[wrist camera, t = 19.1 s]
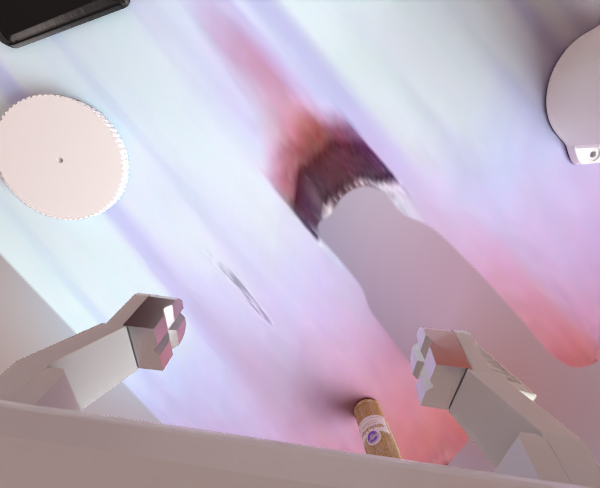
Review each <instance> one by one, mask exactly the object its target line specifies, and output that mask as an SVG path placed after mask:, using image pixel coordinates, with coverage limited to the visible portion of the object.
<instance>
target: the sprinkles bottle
mask: <svg viewBox="0 0 600 488" xmlns="http://www.w3.org/2000/svg"><path fill="white" fill-rule="evenodd" d="M354 415H355V417H356V419H357V423H358V426H359V431H360V434H361V437H362V441H363V444H364V447H365V451H366V454H371V455H378V456H385V457H391V458H398V459H402V458H401V456H400V453H399V449H398V447H397V445H396V442H395V440H394V437H393V435H392V433H391V430H390V428H389V426H388V423H387V421H386V420H385V418H384V415H383V413H382V411H381V406H380V404H379V403H378V402H377V401H376V400H373V399H364V400H361V401H360V402H358V403H357V404H356V406H355V408H354Z"/></svg>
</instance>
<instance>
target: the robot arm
mask: <svg viewBox="0 0 600 488" xmlns="http://www.w3.org/2000/svg"><path fill="white" fill-rule="evenodd" d="M546 107H547V114H548V118H549V121H550V124H551V126H552V128H553V130H554V131H555V133H556V134H557V135H558V136H559V137H560V138H561V139H562V141H563V142H564V143H565V144H566V146H567V150H568V154H569V157H570V159H571V161H572V163H573V164H575V165H583V164H592V163H599V162H600V25H598V26H597V27H595V28H594V29H592V30H590V31H589V32H587V33H585V34H583V35H582V36H580V37H579V38H578V39H577V40H575V41H574V42H573V43H572V44H571V45H570V46H569V47H568V48H567V49H566V50H565V52H564V53H563V54H562V56H561V57H560V59H559V60H558V62H557V64H556V66H555V68H554V70H553V72H552V74H551V77H550V80H549V84H548V89H547V97H546ZM590 153H591V155H590ZM182 309H183V304H182V300H181V299H179V298H173V297H166V296H159V295H150V294H143V293H137V294H135V295H134V296H133V297H132V298H131V299H130V300H129V301H128V302H127V303H126V304H125V305H124V306H123V307H122V308H121V309H120V310H119V311H118V312H117V313H116V314H115V315H114V316H113V317H112V318H111V319H110V320H109V321H108V322H107V323H106V324H104V323H101V324H99V325H97V326H94V327H92V328H90V329H88V330H85V331H83V332H81V333H79V334H76V335H74V336H72V337H70V338H67V339H65V340H63V341H61V342H58V343H56V344H54V345H52V346H49V347H47V348H45V349H43V350H40V351H38V352H36V353H34V354H31V355H29V356H27V357H25V358H22V359H20V360H18V361H16V362H15V363H14V364H13V365H11V366H10V367H9V368H8V369H7V370H6V371H4V372H3V373H2V374H1V375H0V488H600V466H599V464H598V463H597V461H596V460H595V458H594V457H593V455H592V454H591V452H590V451H589V449H588V448H587V446H586V445H585V443H584V442H583V441H582V439H580V438H579V437H578V436H576V435H575V434H574V433H573V432H572V431H570V430H569V429H568V428H567V427H565V426H564V425H562V424H561V423H560V422H559V421H557V420H556V419H555V418H554V417H552V416H551V415H550V414H549V413H547V412H546V411H545V410H543V409H542V408H541V407H540V406H538V405H537V404H536V403H534V402H533V401H532V400H531V399H529V398H528V397H527V396H526V395H524V394H523V393H522V392H520V391H519V390H518V389H517V388H515V387H514V386H513V385H511V384H510V383H509V382H508V381H506V380H505V379H504V378H502V377H501V376H500V375H499V374H497V373H494V372H491V370H490V369H489V367H488V365H487V363H486V361H485V359H484V357H483V356H482V354H481V352H480V350H479V348H478V346H477V345H476V343H475V341H474V339H473V337H472V335H471V334H470V333H469V332H467V331H459V330H446V329H437V328H428V327H420V328H419V329H418V331H417V334H416V337H417V340H418V342H417V343H416V344H414V345H413V347H412V350H411V357H410V364H411V370H412V374H413V375H414V376H415V377H416V378H417V379H418V381H417V384H416V390H417V394H418V397H419V401H420V405H421V406H428V407H434V408H440V409H446V410H449V412H450V414H451V415H452V416H453V417H454V418H455V420H456V421H457V422H458V423H459V425H460V426H461V427H462V428H463V429H464V431H465V432H466V433H467V434H468V435H469V437H470V438H471V439H472V440H473V441H474V443H475V444H476V445H477V446H478V448H479V449H480V450H481V451H482V452H483V454H484V455H485V456H486V457H487V458H488V460H489V461H490V462H491V463H492V464H493V466H494V467H495V468H496V470H495V472H494V473H493V472H486V471H479V470H473V469H465V468H459V467H452V466H446V465H439V464H432V463H425V462H419V461H412V460H405V459H398V458H391V457H385V456H378V455H371V454H364V453H357V452H350V451H344V450H337V449H330V448H323V447H316V446H309V445H303V444H296V443H289V442H283V441H276V440H269V439H262V438H256V437H249V436H242V435H235V434H229V433H222V432H215V431H209V430H202V429H195V428H188V427H181V426H175V425H168V424H161V423H154V422H148V421H141V420H134V419H127V418H121V417H114V416H107V415H100V414H93V413H86V412H83V411H82V409H84V408H85V407H86V406H88V405H89V404H90V403H92V402H93V401H95V400H96V399H98V398H99V397H100V396H101V395H103V394H104V393H106V392H107V391H109V390H110V389H111V388H113V387H114V386H116V385H117V384H118V383H120V382H121V381H122V380H124V379H125V378H127V377H128V376H129V375H131V374H132V373H134V372H135V371H136V370H138V368H143V369H153V370H162V371H163V370H164V368H165V366H166V365H167V363H168V362H169V360H170V358H171V357H172V355H173V353H172V348H174V347H176V346H177V345H179V344H180V342H181V340H182V338H183V335H184V332H185V326H186V322H185V317H184V316H183V315H182V314H181V313H180V312H181V310H182Z"/></svg>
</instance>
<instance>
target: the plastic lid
mask: <svg viewBox="0 0 600 488" xmlns="http://www.w3.org/2000/svg"><path fill="white" fill-rule="evenodd" d="M12 106H13V107H12V108H9V109H8V110H9V111H8V112H7V111H6V112H5V116H2V120H0V172H1V173H2V175H1V176H2V177H4V179H5V180H4V181H5V183H7V184H8V185H7V186H8V187H10V188H11V191H12V192H14V193H15V195H16V196H17V197H19V198H20V200H21V201H24V203H25V204H26V205H27V204H28V205H29V207H30V208H34V210H35V211H39V213H41V214H42V213H44V214H45V215H46V216H48V215H50V217H56V218H57V219H59V218H61V219H63V220H64V219H67V220H71V219H72V220H76V219H84V218H88V217H91V216H95V215H97V214H100V213H102V212H105V211H106V210H107V209H109V208H110V207H111V206H113V204H114V203H116V202H117V201H116V200H119V199H120V196H122V192H124V191H125V189H124V187H126V186H127V185H126V183H127V182H128V180H127V178H129V175H128V173H129V170H128V168H129V165H128V162H129V160H128V159H127V157H128V154H126V152H127V150H126V149H125V148H124V147H125V144H123V143H122V141H123V140H122V139H121V138H120V137H119V136H120V134H119V133H117V132H116V131H117V130H116V129H115V128H113V125H112V124H110V123H109V120H108V119H105V116H104V115H100V112H98V111H95V109H94V108H91V107H90V106H89V105H86V104H85V103H83V102H79V101H77V100H74V99H71V98H68V97H64V96H59V95H53V94H50V95H48V94H44V95H41V94H39V95H38V96H35V95H33V96H32V97H27V99H22V101H21V102H20V101H18V102H17V104H13V105H12Z"/></svg>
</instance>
